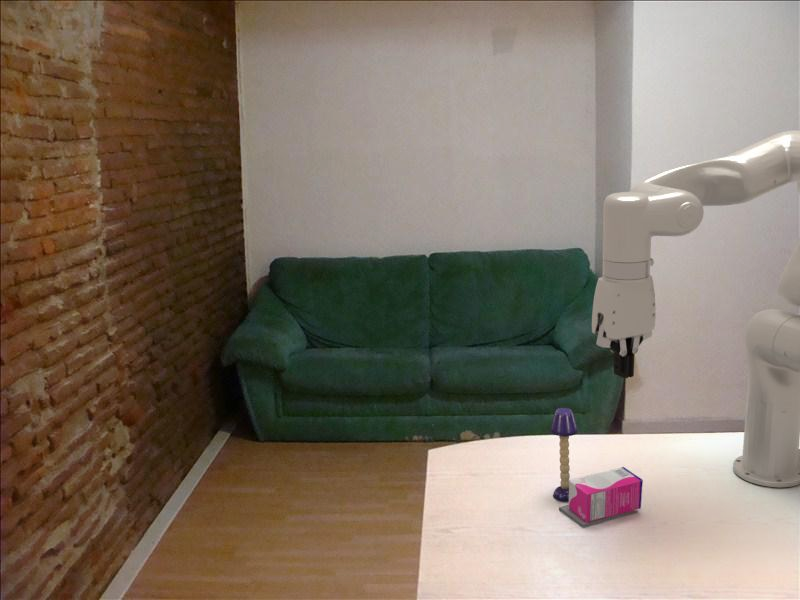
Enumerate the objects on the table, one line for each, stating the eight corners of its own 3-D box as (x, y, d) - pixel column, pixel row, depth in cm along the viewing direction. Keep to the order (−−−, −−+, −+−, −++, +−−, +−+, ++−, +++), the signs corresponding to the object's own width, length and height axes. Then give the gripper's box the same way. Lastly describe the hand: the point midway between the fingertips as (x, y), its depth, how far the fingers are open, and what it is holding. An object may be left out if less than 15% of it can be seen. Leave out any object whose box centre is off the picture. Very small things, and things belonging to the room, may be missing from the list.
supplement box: (621, 496, 157) (566, 508, 153) (623, 465, 155) (568, 477, 151) (641, 510, 152) (585, 523, 148) (643, 479, 150) (587, 492, 146)
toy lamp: (547, 499, 157) (548, 413, 153) (554, 488, 162) (555, 404, 157) (573, 504, 156) (575, 417, 151) (579, 492, 160) (581, 407, 155)
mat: (609, 495, 158) (609, 492, 158) (634, 512, 152) (635, 509, 152) (559, 510, 154) (559, 507, 153) (583, 528, 147) (583, 524, 147)
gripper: (646, 259, 148) (643, 361, 153) (574, 271, 142) (573, 377, 147) (677, 267, 141) (673, 373, 146) (603, 280, 135) (602, 390, 140)
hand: (623, 375), depth 146 cm, fingers closed
